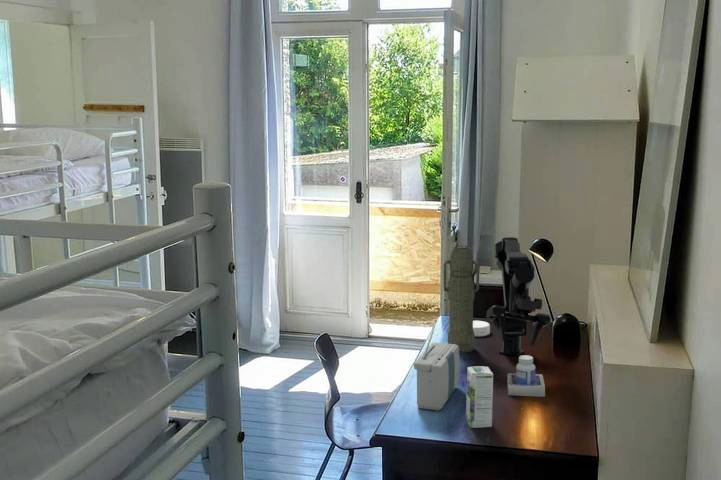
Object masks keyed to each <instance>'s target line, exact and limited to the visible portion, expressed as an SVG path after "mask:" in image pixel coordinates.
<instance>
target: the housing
mask: <svg viewBox="0 0 721 480" xmlns="http://www.w3.org/2000/svg"><path fill="white" fill-rule="evenodd" d="M545 385H546V384H545V379H544V375H543V374H540V373H539V374H537V373H535V385H524V384H516V373H510V372H507V391H508V392H507V394H508V396H517V397H519V396H520V397H540V398H541V397H546V386H545Z"/></svg>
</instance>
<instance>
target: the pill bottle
mask: <svg viewBox="0 0 721 480" xmlns="http://www.w3.org/2000/svg"><path fill="white" fill-rule="evenodd" d="M518 356H519V357H518V363H516V367H515V370H516V371H515V372H516V373H515V374H516V384H524V385H535V374H536V365H535V364H534V357H533V356H531V355H529V354H528V355H527V354H526V355H523V354H522V355H518Z"/></svg>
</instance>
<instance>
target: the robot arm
mask: <svg viewBox="0 0 721 480" xmlns="http://www.w3.org/2000/svg"><path fill="white" fill-rule="evenodd" d="M520 245H521V244H520V243H519V241H518V237H515V236H510V237H508V236H504V237H502V238H501V240H500V241H498V242H497V243H495V244H494V246H493V247H494V249H493V258H494V259H495V264H496V266H497V267H498V268H499V270H500V271H501V278H502V279H501V280H502V288H503V289H502V290H503V303H504V306H503V305H497V304H494V305H492V306H491V307H489V308H488V309H487V310H486V318H487V319H490V322H492V323H493V325H494V327H495V328H496V331H497V333H498V335H499V338H500V340H501V342H502V349H501V350H499V351H498V354H504V355H510V356H513V357H514V356H515V357H518V356H520V355H521V354H522V353H523V352H525V349H524V348H521V339H522V337H527V333H528V326H529V322H530V324H531V326H530V327H529V336H530V337H529V344H530V347H534V345H535V343H536V340H537V338H538V335H539V333H540V332H541V329H543V328H545V327H546V328H547V326H549V325H550V324H552V318H551V316H550V314H545V313H540V312H538V313H536V310H540V311H541V310H543V309H542V307H543V298H537V297H535V298H534V300H532V298H531V296H530V287H531V285H532V283H533V281H534V278H535V266H534V264H533V263H532V260H531V259H529V256H528V255H527V254H526V253H523V252H522V251H521V246H520ZM532 312H533V313H536V314H535V315H531V314H532Z"/></svg>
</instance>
